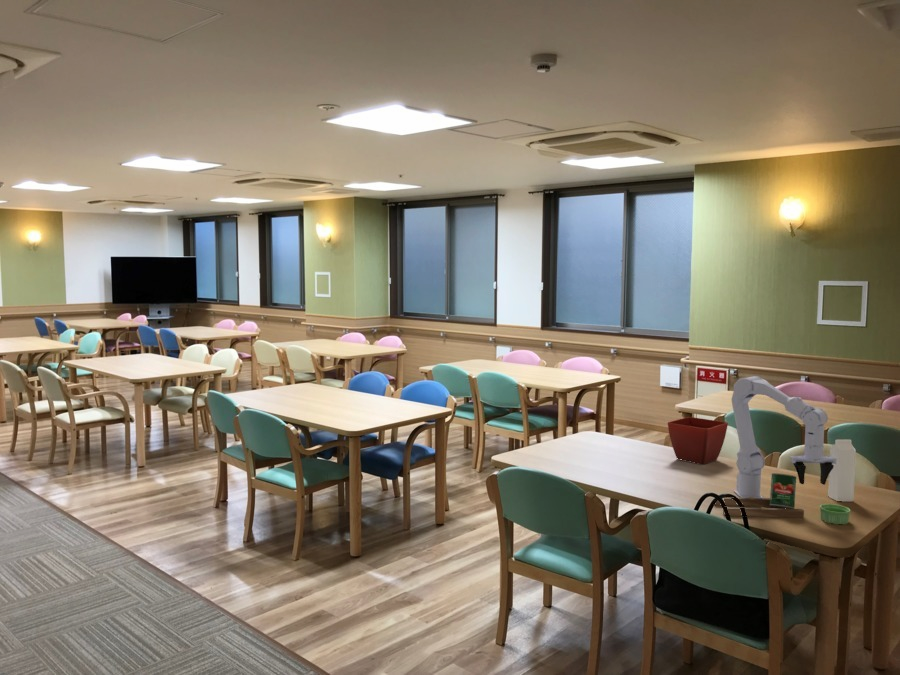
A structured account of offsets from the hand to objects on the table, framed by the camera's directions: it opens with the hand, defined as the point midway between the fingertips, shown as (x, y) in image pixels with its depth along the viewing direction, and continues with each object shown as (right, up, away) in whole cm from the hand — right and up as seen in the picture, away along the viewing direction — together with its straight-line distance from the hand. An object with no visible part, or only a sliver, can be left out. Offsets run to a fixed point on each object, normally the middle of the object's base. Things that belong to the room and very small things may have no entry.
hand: (812, 483), depth 247 cm
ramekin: (+3, -11, -8) cm, 14 cm away
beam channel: (-18, -10, +2) cm, 21 cm away
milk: (+18, -9, +15) cm, 25 cm away
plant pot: (-16, -4, +70) cm, 72 cm away
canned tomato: (-10, -9, +1) cm, 13 cm away
